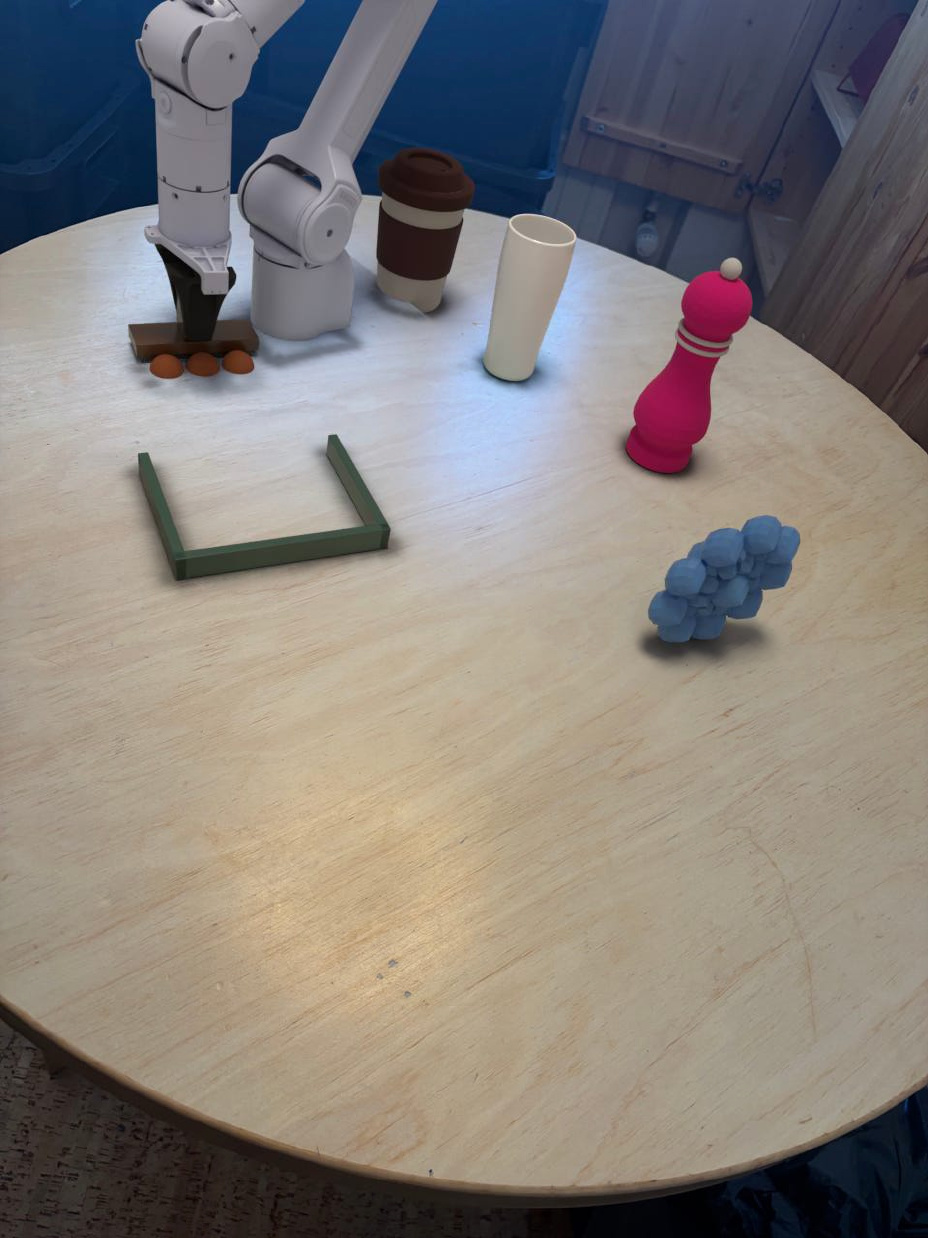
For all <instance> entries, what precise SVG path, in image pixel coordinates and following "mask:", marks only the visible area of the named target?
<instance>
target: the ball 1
mask: <svg viewBox="0 0 928 1238" xmlns="http://www.w3.org/2000/svg"><path fill="white" fill-rule="evenodd" d="M149 372H150V374H152V375H153V376H155V377H156V378H160V379H165V380H173V379H177V378H180V377H182V376H183V375H184V374H185V367H184V365H183V363H182V361H181V360H179V359H178V358H176V357H174V356H172V355H169V354H162V355H159V356H157V357H156V358H154V359H153V361H152V362H150V366H149Z"/></svg>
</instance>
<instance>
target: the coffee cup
mask: <svg viewBox="0 0 928 1238" xmlns="http://www.w3.org/2000/svg"><path fill="white" fill-rule="evenodd" d="M377 186H378V188H379V190H380V191H381V200H380V202H379V203H378V204H379V205H378V218H377V235H376V251H375V253H376V254H375V257H376V260H377V265H376V267H377V268H376V280H375V282H376V286H377V287H378V289H379V290H380V291H381V292H382V293H384V295H386V296H389V297H390V298H392V299H394V300H397V301H401V302H405V303H409V304H411V305H413V307H415V308H416V309H418V310H419V311H420V312H421V313H422V314H426V313H430V312H432V311H434V310H436V309H437V308H438V307H439V306H440V304H441V301H442V296H443V294H444V289H445V285H446V282H447V278H448V275H449V274H450V273H451V271H452V266H453V263H454V259H455V255H456V252H457V248H458V244H459V240H460V236H461V234H462V233H461V232H462V230H463V229H462V228H463V226H464V213H465V210H466V209H467V208H469V207H470V206H471V205H472V203H473V199H474V195H475V189H476V186H475V183H474V181H473V180H472V178H471V177H469V176H468V175H467V174H465V173H464V168H463V165H462V163H460V161H459V160H457V159H456V158H454V157H453V156H451V155H449V154H446V153H445V152H441V151H438V150H435V149H429V148H422V147H410V148H409V147H408V148H403V149H400V150H399V151H398V152H397V153H396V155H395V157H393V158H390V159H386V160H385V161H383V162H382V163H381V164H380V165H379V167H378V173H377Z"/></svg>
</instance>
